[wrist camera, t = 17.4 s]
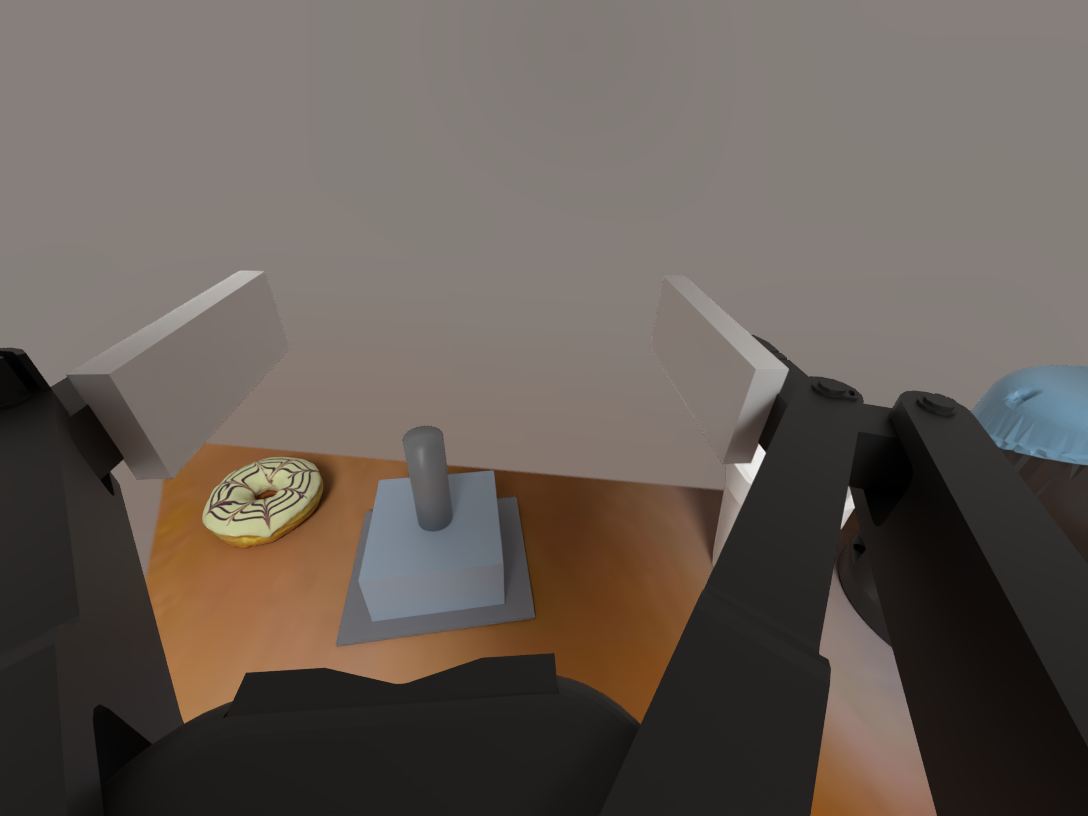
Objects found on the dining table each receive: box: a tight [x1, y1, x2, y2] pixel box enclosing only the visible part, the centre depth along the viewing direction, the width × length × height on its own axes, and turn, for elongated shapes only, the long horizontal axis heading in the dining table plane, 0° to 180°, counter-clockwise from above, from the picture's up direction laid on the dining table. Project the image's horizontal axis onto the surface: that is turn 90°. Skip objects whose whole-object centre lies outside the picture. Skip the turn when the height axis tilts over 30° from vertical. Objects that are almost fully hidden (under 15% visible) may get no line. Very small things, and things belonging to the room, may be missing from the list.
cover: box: [358, 426, 505, 622], centre depth 37 cm, size 11×11×15 cm
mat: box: [336, 497, 535, 647], centre depth 41 cm, size 16×14×1 cm
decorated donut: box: [203, 457, 323, 548], centre depth 45 cm, size 10×11×4 cm
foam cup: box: [712, 445, 855, 567], centre depth 38 cm, size 10×9×13 cm
